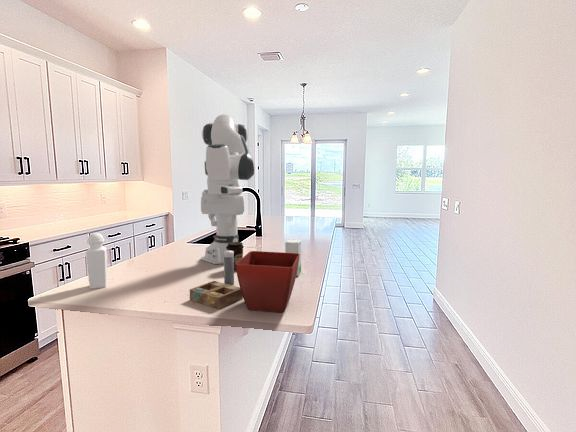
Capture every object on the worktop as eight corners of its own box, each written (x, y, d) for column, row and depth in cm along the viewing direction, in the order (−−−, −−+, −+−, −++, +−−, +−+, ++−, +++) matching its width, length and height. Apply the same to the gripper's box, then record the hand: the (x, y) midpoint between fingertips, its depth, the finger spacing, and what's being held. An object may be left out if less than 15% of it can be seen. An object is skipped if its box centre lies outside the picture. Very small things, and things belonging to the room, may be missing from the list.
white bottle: (90, 284, 134) (87, 232, 131) (108, 282, 136) (105, 231, 134) (88, 289, 128) (84, 234, 125) (107, 287, 130) (103, 233, 128)
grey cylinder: (222, 284, 135) (221, 251, 134) (229, 282, 138) (228, 250, 137) (229, 286, 133) (228, 253, 131) (236, 283, 136) (235, 251, 135)
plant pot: (292, 318, 103) (292, 266, 101) (234, 313, 107) (234, 263, 105) (299, 296, 122) (300, 253, 120) (250, 293, 125) (250, 250, 123)
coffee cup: (247, 267, 160) (247, 242, 159) (239, 272, 152) (239, 245, 151) (231, 266, 163) (231, 240, 162) (223, 270, 155) (222, 244, 154)
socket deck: (189, 300, 118) (188, 288, 117) (214, 290, 128) (213, 280, 127) (218, 309, 110) (218, 297, 109) (242, 298, 120) (242, 287, 119)
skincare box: (298, 276, 147) (298, 243, 145) (284, 275, 148) (284, 242, 146) (301, 271, 155) (301, 239, 153) (288, 270, 156) (288, 238, 154)
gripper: (195, 190, 122) (198, 226, 123) (232, 188, 109) (235, 229, 110) (208, 189, 126) (211, 224, 128) (245, 187, 114) (248, 226, 115)
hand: (222, 226), depth 119 cm, fingers open, 8 cm apart
